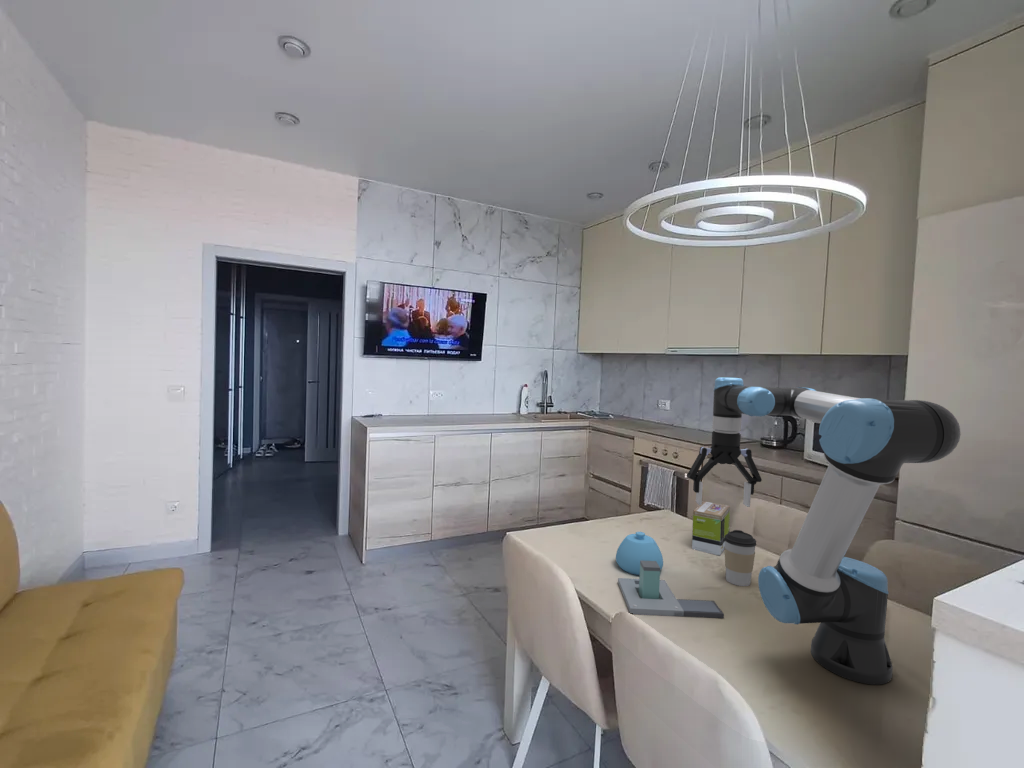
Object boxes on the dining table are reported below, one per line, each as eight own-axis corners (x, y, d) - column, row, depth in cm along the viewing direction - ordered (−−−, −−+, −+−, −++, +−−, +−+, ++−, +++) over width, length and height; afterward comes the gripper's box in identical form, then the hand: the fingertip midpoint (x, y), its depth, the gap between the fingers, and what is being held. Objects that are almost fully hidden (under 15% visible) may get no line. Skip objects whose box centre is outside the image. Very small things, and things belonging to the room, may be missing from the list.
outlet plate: (683, 616, 127) (683, 610, 127) (630, 613, 128) (630, 608, 128) (664, 584, 145) (664, 579, 145) (617, 582, 146) (618, 577, 146)
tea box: (701, 537, 186) (703, 500, 186) (729, 544, 180) (731, 505, 180) (690, 549, 174) (692, 509, 173) (720, 556, 168) (722, 515, 168)
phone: (723, 618, 127) (723, 613, 127) (674, 615, 127) (674, 611, 127) (713, 604, 134) (713, 600, 134) (666, 602, 134) (666, 598, 134)
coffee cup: (758, 589, 144) (760, 540, 143) (725, 585, 146) (728, 537, 145) (749, 576, 153) (752, 530, 152) (719, 573, 155) (721, 527, 154)
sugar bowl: (645, 582, 147) (647, 545, 146) (606, 565, 158) (607, 531, 158) (671, 569, 157) (673, 534, 156) (632, 554, 168) (634, 521, 167)
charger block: (658, 602, 134) (660, 567, 134) (642, 602, 134) (643, 567, 134) (654, 594, 139) (656, 561, 138) (638, 594, 139) (640, 560, 138)
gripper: (764, 430, 141) (760, 502, 142) (678, 428, 142) (674, 499, 143) (777, 434, 133) (773, 510, 134) (686, 431, 134) (682, 506, 135)
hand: (722, 504), depth 138 cm, fingers open, 13 cm apart
